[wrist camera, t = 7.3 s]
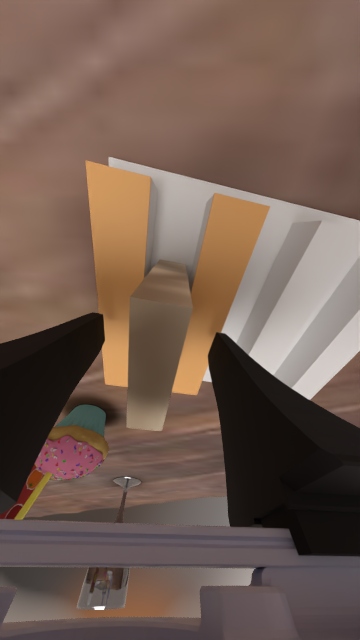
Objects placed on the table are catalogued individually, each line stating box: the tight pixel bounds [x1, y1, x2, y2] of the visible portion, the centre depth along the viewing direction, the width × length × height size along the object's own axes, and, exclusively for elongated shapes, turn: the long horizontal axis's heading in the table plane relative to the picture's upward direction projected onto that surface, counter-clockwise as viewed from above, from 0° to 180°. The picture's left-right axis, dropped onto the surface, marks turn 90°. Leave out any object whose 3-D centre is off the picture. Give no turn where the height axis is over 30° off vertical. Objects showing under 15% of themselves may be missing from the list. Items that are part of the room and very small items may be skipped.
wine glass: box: [77, 477, 141, 609], centre depth 32 cm, size 8×8×15 cm
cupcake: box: [15, 405, 109, 520], centre depth 18 cm, size 9×8×12 cm
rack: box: [86, 157, 360, 400], centre depth 13 cm, size 22×18×3 cm
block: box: [127, 259, 193, 431], centre depth 10 cm, size 2×8×8 cm, turn 170°
